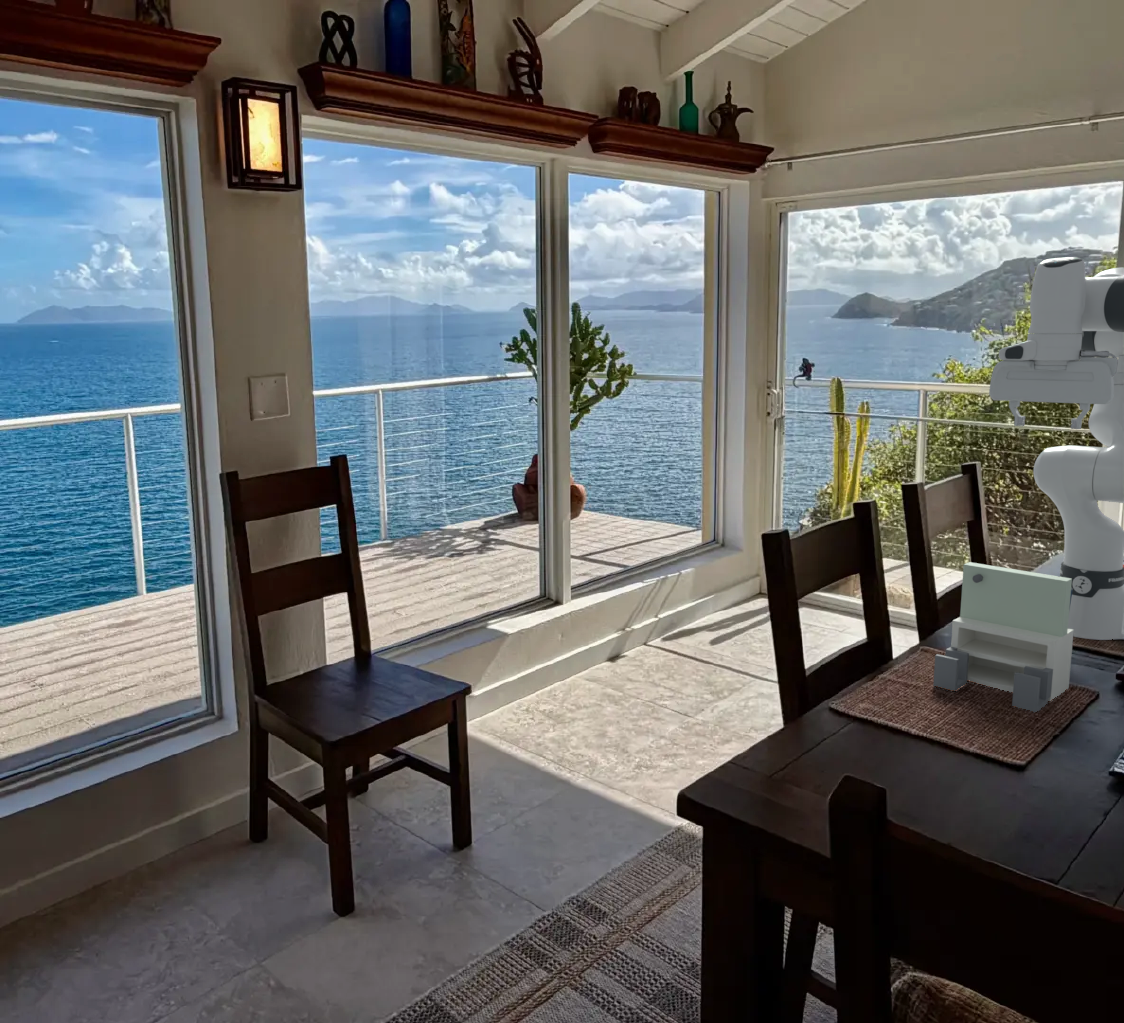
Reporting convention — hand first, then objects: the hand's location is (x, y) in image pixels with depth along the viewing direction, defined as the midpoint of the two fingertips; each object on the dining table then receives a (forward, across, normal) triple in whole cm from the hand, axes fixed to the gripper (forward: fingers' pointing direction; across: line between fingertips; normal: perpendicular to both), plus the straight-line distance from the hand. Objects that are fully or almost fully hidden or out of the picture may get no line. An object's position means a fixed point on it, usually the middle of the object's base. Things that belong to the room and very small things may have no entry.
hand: (1047, 427), depth 184 cm
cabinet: (+46, +2, +13) cm, 48 cm away
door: (+35, +1, +10) cm, 36 cm away
